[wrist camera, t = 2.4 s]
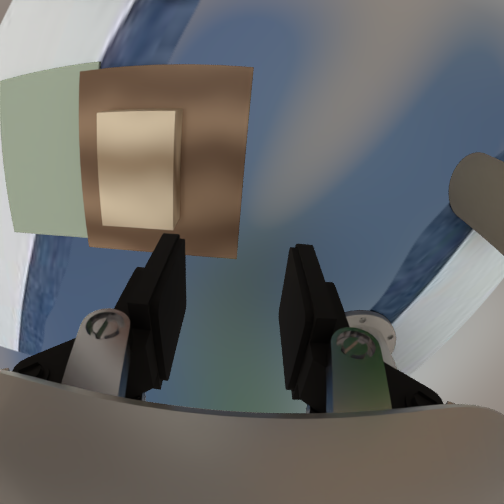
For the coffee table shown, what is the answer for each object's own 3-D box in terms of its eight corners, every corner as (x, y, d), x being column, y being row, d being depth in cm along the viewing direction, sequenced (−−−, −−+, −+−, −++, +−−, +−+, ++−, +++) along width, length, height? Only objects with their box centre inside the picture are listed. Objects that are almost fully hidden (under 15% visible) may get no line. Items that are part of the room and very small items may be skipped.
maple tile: (179, 217, 27) (173, 230, 24) (113, 213, 26) (102, 225, 24) (182, 108, 22) (175, 111, 20) (110, 109, 22) (96, 112, 20)
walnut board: (238, 238, 32) (236, 259, 28) (104, 228, 31) (89, 246, 28) (253, 70, 24) (253, 67, 21) (100, 71, 24) (79, 71, 20)
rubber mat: (105, 237, 32) (104, 239, 31) (16, 230, 31) (14, 232, 31) (100, 61, 23) (98, 61, 23) (2, 80, 23) (0, 81, 22)
